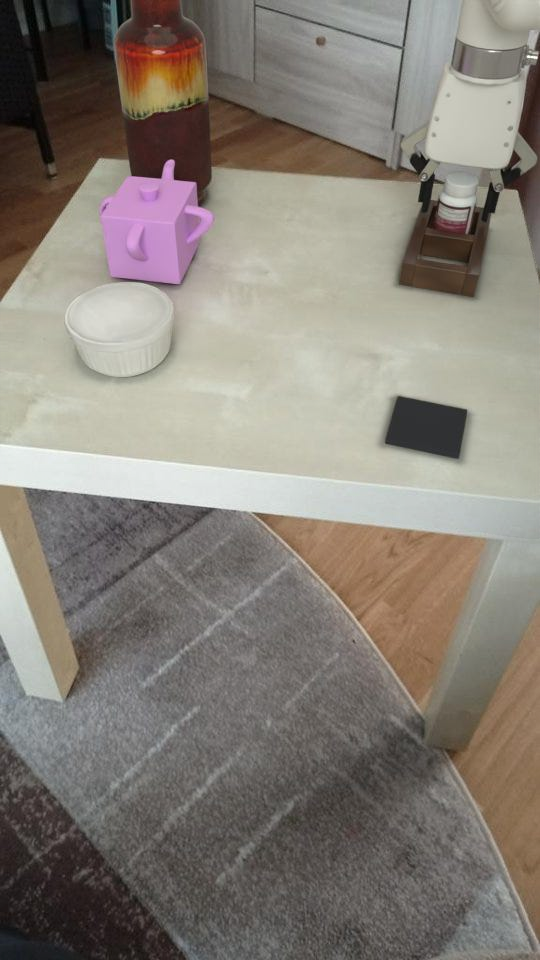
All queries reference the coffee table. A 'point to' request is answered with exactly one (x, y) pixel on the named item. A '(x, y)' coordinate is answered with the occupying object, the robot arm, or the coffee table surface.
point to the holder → (444, 255)
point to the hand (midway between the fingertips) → (455, 211)
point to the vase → (164, 93)
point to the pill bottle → (457, 203)
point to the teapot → (153, 227)
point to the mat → (427, 427)
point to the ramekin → (121, 327)
